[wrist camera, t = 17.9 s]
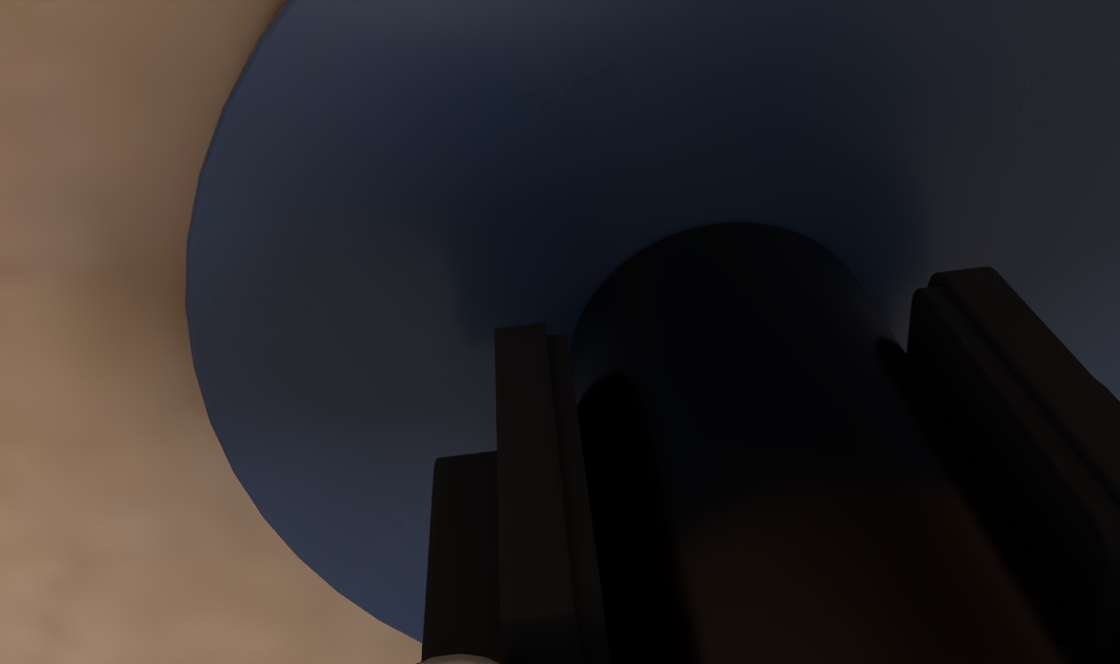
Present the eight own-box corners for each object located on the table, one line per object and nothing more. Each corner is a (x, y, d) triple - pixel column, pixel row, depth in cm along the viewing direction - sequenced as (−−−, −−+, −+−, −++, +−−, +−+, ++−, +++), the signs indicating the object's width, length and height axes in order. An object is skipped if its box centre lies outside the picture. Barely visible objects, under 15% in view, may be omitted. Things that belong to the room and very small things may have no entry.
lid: (41, -155, 9) (-741, 85, 3) (1320, -323, 9) (2830, -380, 3) (338, 679, 16) (251, 1267, 10) (1091, 582, 16) (1461, 1112, 10)
